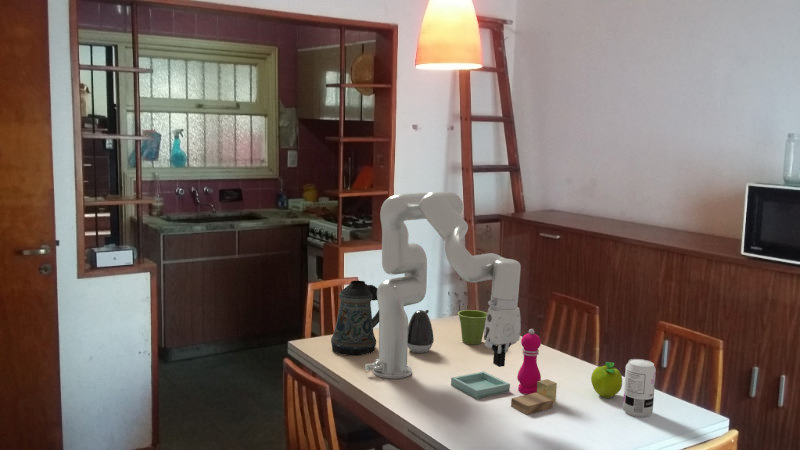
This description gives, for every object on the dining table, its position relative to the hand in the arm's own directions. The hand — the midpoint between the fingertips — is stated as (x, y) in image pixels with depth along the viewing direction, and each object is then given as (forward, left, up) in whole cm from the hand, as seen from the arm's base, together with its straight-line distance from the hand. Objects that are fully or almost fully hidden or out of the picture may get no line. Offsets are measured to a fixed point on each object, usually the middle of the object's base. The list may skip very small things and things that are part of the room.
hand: (498, 364), depth 205 cm
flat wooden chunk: (+11, -3, -14) cm, 18 cm away
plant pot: (+35, +58, -14) cm, 69 cm away
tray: (+7, +17, -14) cm, 23 cm away
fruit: (+38, -6, -14) cm, 41 cm away
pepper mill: (+19, +8, -14) cm, 25 cm away
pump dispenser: (+11, +58, -14) cm, 61 cm away
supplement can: (+36, -20, -14) cm, 44 cm away
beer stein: (-8, +71, -14) cm, 73 cm away
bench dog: (+18, -1, -14) cm, 23 cm away
